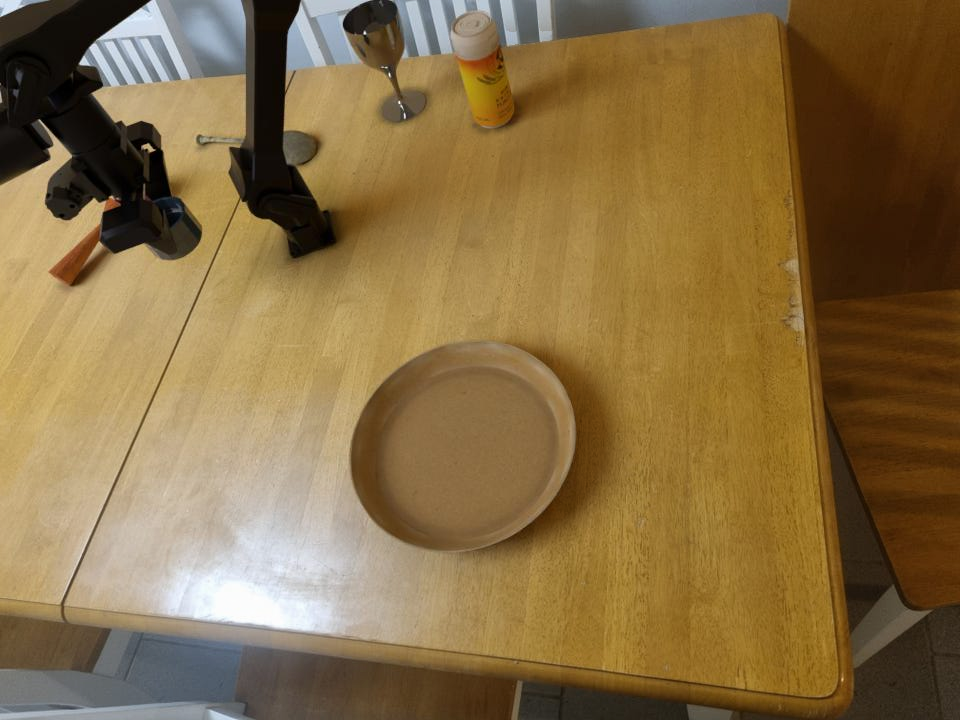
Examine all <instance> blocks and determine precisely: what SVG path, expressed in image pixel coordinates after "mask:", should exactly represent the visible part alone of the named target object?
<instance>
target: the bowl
mask: <svg viewBox="0 0 960 720" xmlns="http://www.w3.org/2000/svg"><path fill="white" fill-rule="evenodd" d="M152 202H153V203H154V204H155V205H156V206H157V208H158V209H162V208H163V209H164V211H165V214H166V217H167V220H168V223H169V226H170V229H171V232H172V235H173V239H174V242H175V245H176V249H177V253H175V254H172V255H167V254H165V253H163V252H161V251H159V250H157V249H155V248H153V247H151V246H150V245H148V244H145V243H144V244H143V245H144V246H145V247H146V248H147V249H148V250H149V251H150V252H151V253H152V255H153V256H154V257H155V258H156V259H159V260H162V261H177V260H180V259H183V258H184V257H187V256H188V255H190V254H191V253H192V252H193V251H194V250H195V249H196V248H197V247H198V246H199V244H200V242H201V241H202V239H203V225H202V224H201V223H200V222H199V220H198V219H197V217H196V216H195V215H194V214H193V212H192V211H191V210H190V208H189V207H188V206H187V205H186V203H185V202H184V201H183V200H182V199H181V198H180V197H177V196H174V195H173V196H169V197H162V198H159V199H157V200H154V201H152Z"/></svg>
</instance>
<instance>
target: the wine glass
mask: <svg viewBox="0 0 960 720" xmlns="http://www.w3.org/2000/svg"><path fill="white" fill-rule="evenodd" d="M398 8H399V7H398V6H397V4H396V3H395V2H394V1H393V0H367V1H365V2H362V3H360V4H358V5H356V6H355V7H353V8H352V9H351V10H349V11H348V12H347V13H346V14H345V16H344V17H343V20H342V28H343V31H344V33H345V36H346V38H347V40H348V42H349V44H350V46H351V48H352V50H353V51H354V54H355V55H357V57H358V58H359V60H360V61H361V62H362V63H363V64H364V65H366V67H369V68H371V69H373V70H376V71H378V72H380V73H382V74H384V75H385V76H386V77H387V79H388V80H389V81H390V83H391V86H392V87H393V90H394V92H395V94H393V95H391V96H390V97H389V98H386V100H385V101H384V103H383V104H382V106H381V111H380V112H381V116H382V117H383V118H384V120H386V121H389V122H392V123H399V122H400V123H401V122H404V121H408V120H411V119H413V118H414V117H416V116H418V115H419V114H420V113H421V112H422V111H423V110H424V108H425V106H426V103H427V98H426V97H425V95H424V94H423V93H422V92H420V91H419V90H414V89H413V90H412V89H408V90H407V89H406V90H402V91H401V88H400V85H399V80H398V75H397V69H398V65H399V63H400V62H401V59H402V57H403V55H404V53H405V50H406V36H405V35H406V34H405V29H404V24H403V20H402V17H401V14H400V13H401V12H400V11H399V9H398Z"/></svg>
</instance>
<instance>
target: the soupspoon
mask: <svg viewBox="0 0 960 720" xmlns="http://www.w3.org/2000/svg"><path fill="white" fill-rule="evenodd" d="M244 139H245V138H242V137H241V138H236V137H213V136H204V135H202V134H199V133H198V134H196V136H195V144H196V145H198V146H201V147H202V146H204V145H205V143H215V142H216V143H217V142H218V143H230V144H231V143H233V144H242V143H243V141H244ZM283 150H284V155H285V158H286V162H287V164H291V165H297V164H298V165H299V164H303V163H306V162H307V161H310V159H312V158H313V157H314V156H315V154H316V152H317V151H316V150H317V143H316V141H315V139H314V138H313V137H312V136H311V135H310V134H308V133H306V132H305V131H301V130H297V129H296V130H295V129H291V130H290V129H289V130H284V139H283Z"/></svg>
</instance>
